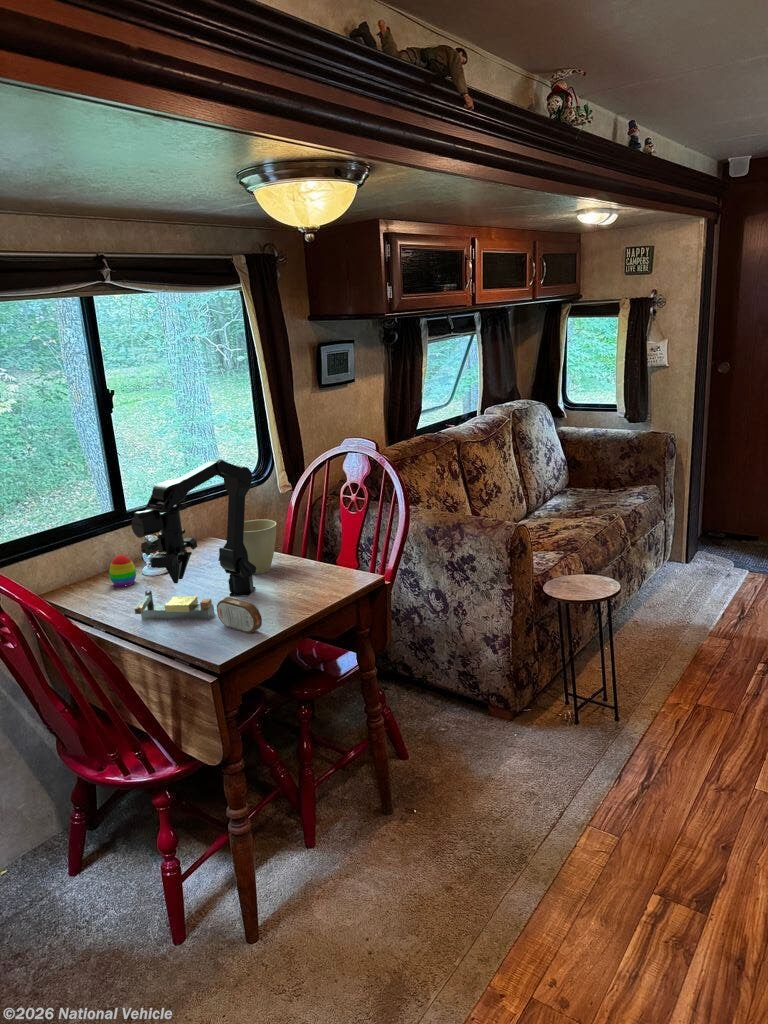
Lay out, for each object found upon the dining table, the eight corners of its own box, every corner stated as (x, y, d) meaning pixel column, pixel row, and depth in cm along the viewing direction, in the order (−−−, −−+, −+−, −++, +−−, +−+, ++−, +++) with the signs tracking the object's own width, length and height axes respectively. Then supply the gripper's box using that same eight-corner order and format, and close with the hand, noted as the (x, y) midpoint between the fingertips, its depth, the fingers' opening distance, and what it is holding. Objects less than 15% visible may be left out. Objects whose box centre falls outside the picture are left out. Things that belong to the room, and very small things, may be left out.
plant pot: (286, 563, 244) (281, 518, 240) (273, 578, 230) (268, 531, 226) (244, 563, 246) (239, 519, 242) (229, 578, 232) (224, 531, 228)
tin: (264, 632, 189) (261, 603, 187) (255, 637, 186) (252, 607, 184) (225, 621, 197) (221, 593, 195) (216, 625, 195) (213, 597, 193)
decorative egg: (107, 589, 228) (103, 559, 226) (116, 580, 236) (111, 552, 233) (133, 587, 228) (128, 558, 226) (140, 578, 236) (136, 550, 234)
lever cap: (198, 602, 204) (197, 596, 204) (189, 611, 198) (188, 605, 197) (175, 602, 205) (174, 596, 204) (165, 611, 199) (164, 605, 198)
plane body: (214, 613, 203) (212, 597, 202) (208, 620, 199) (206, 603, 198) (148, 613, 206) (146, 597, 205) (141, 620, 202) (139, 603, 200)
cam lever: (143, 621, 192) (140, 606, 191) (136, 622, 192) (133, 606, 191) (154, 605, 203) (152, 590, 202) (148, 605, 203) (145, 590, 202)
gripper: (158, 519, 205) (165, 570, 209) (127, 538, 187) (136, 593, 191) (194, 518, 204) (201, 569, 208) (167, 538, 186) (175, 593, 190)
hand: (178, 581), depth 199 cm, fingers open, 3 cm apart
